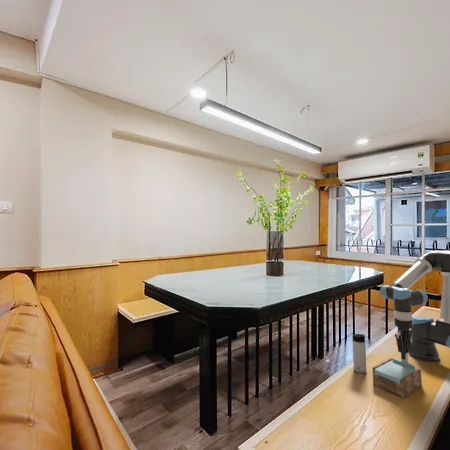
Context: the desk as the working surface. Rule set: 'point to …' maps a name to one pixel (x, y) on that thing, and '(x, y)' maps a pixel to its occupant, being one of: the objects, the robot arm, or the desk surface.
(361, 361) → the travel mug
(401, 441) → the desk surface
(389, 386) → the box
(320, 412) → the desk surface
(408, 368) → the cover plate
